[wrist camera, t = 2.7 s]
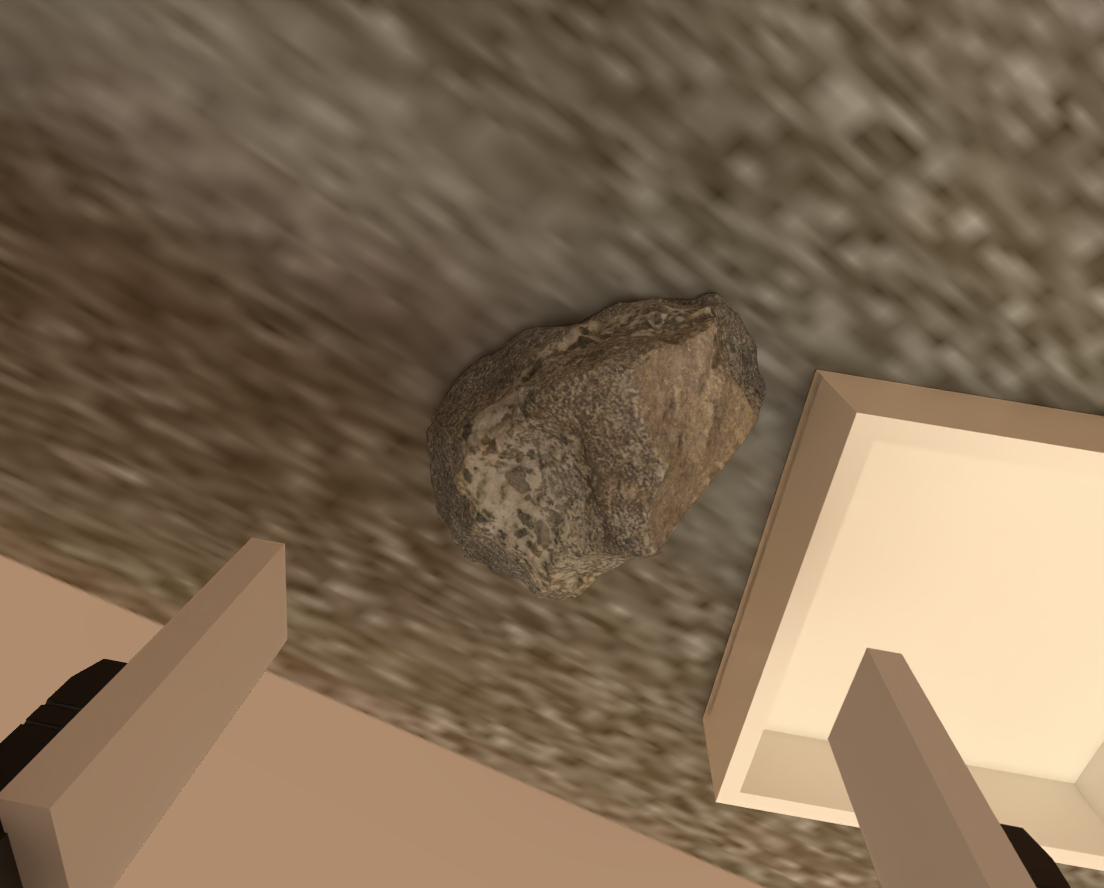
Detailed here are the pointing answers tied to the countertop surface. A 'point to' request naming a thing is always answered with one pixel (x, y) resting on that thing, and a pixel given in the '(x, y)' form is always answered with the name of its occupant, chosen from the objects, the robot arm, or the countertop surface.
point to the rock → (592, 438)
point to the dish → (927, 604)
